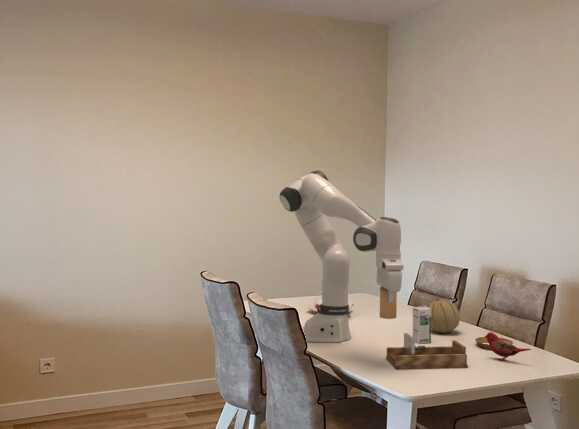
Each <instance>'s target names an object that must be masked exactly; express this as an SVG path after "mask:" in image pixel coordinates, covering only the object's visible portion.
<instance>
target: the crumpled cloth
mask: <svg viewBox="0 0 579 429" xmlns="http://www.w3.org/2000/svg"><path fill="white" fill-rule="evenodd" d="M316 304H319V305H321V304H322V294H320V295H317V296H316V298H315V299H314V300H313V301H312V302H311V303H310V304H308V305H307V309H308V310H309V311H314V312H316V313H318V312H317V309H316V308H315V305H316ZM348 305H349V310H351V309H352V307H354V306H355V304H354V302H352V301H350V300H348Z"/></svg>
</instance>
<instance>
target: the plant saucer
mask: <svg viewBox="0 0 579 429" xmlns="http://www.w3.org/2000/svg"><path fill="white" fill-rule="evenodd" d="M499 338H500V339H501V340H503V341H505V342H508V343H510V344H512V345H513V344H514V342H513V341H512V340H511V339H508V338H505V337H504V338H503V337H499ZM474 340H475V343H476V344H477V345H478V346H479V347H480V346H481V348H482V347H483V349H485V348H487V349H486V350H491V348H490V346H489V345H488V344H483V343H488V341H487V338H486V337H485V336H480V337H476V338H475V339H474Z"/></svg>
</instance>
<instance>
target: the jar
mask: <svg viewBox="0 0 579 429" xmlns="http://www.w3.org/2000/svg"><path fill="white" fill-rule="evenodd" d="M397 293H398V292H395V295H394V302H393V303H390V302H388V295H389V293H388V290H387V289H386V288H384V287H381V286H379V318H381V319H385V320H387V319H388V320H392V319H396V318H397V307H398V306H397V301H398V300H397V297H398V294H397Z"/></svg>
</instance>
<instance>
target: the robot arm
mask: <svg viewBox="0 0 579 429" xmlns="http://www.w3.org/2000/svg"><path fill="white" fill-rule="evenodd" d="M279 200H280V201H279V202H280V203H281V205H282V207H283V208H284V210H286V211H288V212H290V213H293V212H294V215H295V216H296V217H295V218H296V219H297V221H298V224H299V225H300V227H301V228H302V230H303V232H304V234H305V236H306V237H307V239H308V241H309V242H310V244H311V245H312V247H313V248H314V250H315V252H316V253H317V255H318V256H319V259H320V260H321V262H322V281H321V282H322V284H321V286H322V287H321V295H322V304H321V305H319V304H316V305H315V308H316V309H317V312H316V313H315V314H314V315H312V317H311V316H310V318H309V319H307V320H305V323H304V326H303V331H304V333H305V336H306V340H307V341H306V343H308V342H311V343H313V342H314V343H315V342H316V343H342V342H344V341H349V340H351V338H352V335H351V331H350V325H349V317H350V309H349V305H348V301H349V279H350V264H351V262H350V256H349V254H348V252H347V250H346V249H345V248H344V245H342V243H341V240H340V239H339V238H338V235H337V233H336V232H335V231H334V229H333V227H332V225H331V223H330V221H329V220H328V218H327V217H330V218H336V219H341V220H342V219H343V220H346V221H349V222H350V223H353V224H354V225H356V227H357V228H356V229H355V230H354V232H353V234H352V242H353V245H354V246H355V248H356V249H357V250H358V251H360V252H367V253H368V252H375V267H376V283H377V285H379V287H384V288H386V289H387V290H388V293H389V295H388V302H390V303H393V302H394V295H395V292H397V293H398V292H399V293H400V291H401V290H402V289H401V288H402V282H403V281H402V280H403V271H404V263H403V262H402V256H401V255H402V254H401V253H402V252H401V244H402V230H401V228H402V227H401V224H400V221H399V220H398V219H396V218H393V217H387V216H381V217H379V218H377V219H375V218H374V217H373V216H372V215H370V214H369V213H368V212H366V211H365V210H364V209H362V207H360V206H359V205H357V204H356V203H355V202H353V201H352V200H351V199H349V198H348V197H347V196H346V195H344V194H343V193H342V192H341V191H340V190H339V189H338V188H337V187H335V186H334V185H333V183H331V182H330V181H329V178H328V177H327V176H326V174H325V173H324V172H322V171H321V170H314V171H311V172H309V173H308V174H306V175H302V176H300V177H299V178H297V179H296V180H295V181H293V182H292V183H290V184H289V185H288V186H286V187H284V188H283V189H282V190H281V191H280V192H279Z"/></svg>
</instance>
